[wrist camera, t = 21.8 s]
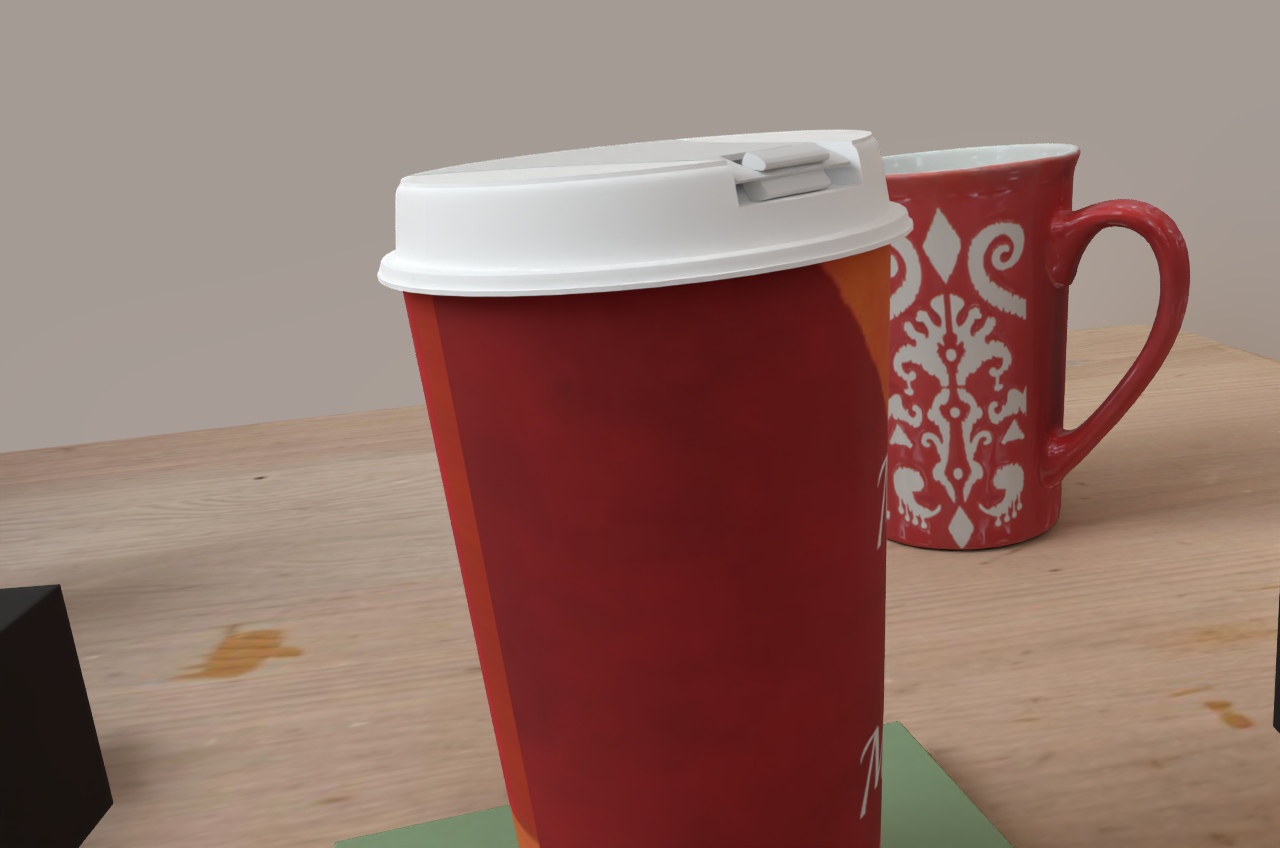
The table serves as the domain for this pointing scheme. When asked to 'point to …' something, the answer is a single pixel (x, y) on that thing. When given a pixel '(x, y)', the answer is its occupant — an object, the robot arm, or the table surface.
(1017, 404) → the mug
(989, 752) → the table surface
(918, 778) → the cup mat
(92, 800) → the robot arm
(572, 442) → the coffee cup
